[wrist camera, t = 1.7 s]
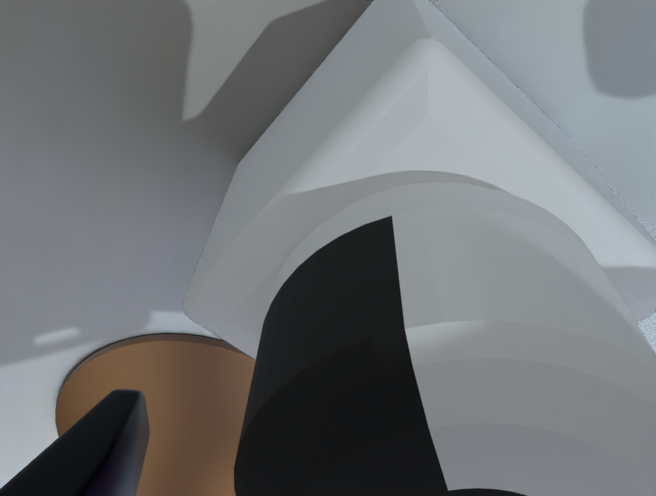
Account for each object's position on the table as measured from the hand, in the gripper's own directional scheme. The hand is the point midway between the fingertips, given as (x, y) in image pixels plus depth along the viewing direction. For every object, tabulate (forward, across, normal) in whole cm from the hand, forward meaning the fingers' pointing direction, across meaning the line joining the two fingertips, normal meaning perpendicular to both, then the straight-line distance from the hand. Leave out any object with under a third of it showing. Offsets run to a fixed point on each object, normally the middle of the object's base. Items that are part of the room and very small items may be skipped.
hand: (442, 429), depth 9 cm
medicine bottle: (+10, 0, 0) cm, 10 cm away
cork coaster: (+10, +7, +13) cm, 18 cm away
